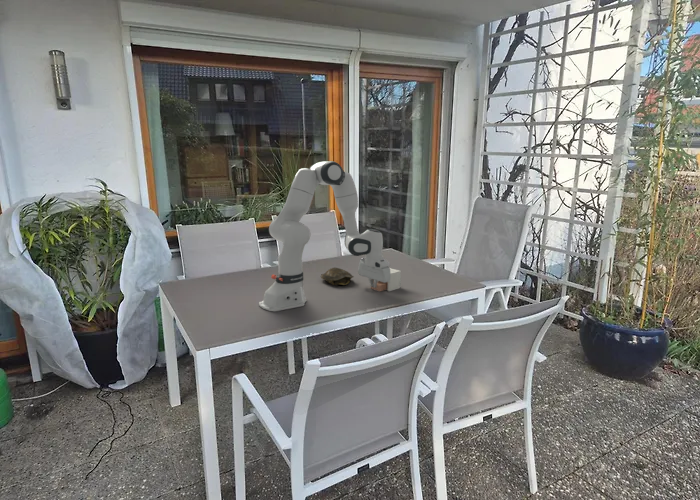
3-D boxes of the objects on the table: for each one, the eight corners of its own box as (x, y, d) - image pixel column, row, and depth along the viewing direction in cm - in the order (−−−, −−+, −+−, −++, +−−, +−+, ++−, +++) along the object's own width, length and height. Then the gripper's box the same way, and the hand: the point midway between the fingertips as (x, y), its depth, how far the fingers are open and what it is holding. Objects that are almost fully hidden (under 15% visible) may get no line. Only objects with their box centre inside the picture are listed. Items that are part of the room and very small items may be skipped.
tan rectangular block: (379, 291, 224) (379, 285, 224) (370, 288, 229) (370, 282, 229) (391, 287, 230) (391, 282, 230) (382, 285, 235) (382, 279, 234)
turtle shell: (340, 265, 253) (358, 266, 236) (342, 280, 254) (359, 283, 236) (315, 268, 246) (331, 269, 228) (316, 284, 246) (332, 287, 229)
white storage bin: (389, 291, 224) (389, 273, 222) (370, 285, 234) (370, 268, 232) (400, 287, 230) (400, 270, 228) (381, 282, 240) (381, 265, 238)
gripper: (355, 258, 229) (355, 283, 232) (383, 265, 214) (383, 292, 217) (364, 256, 233) (364, 281, 236) (392, 263, 218) (392, 290, 221)
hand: (373, 286), depth 226 cm, fingers closed, pressing on tan rectangular block
